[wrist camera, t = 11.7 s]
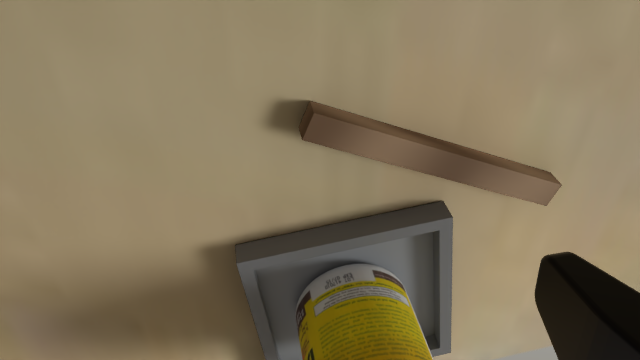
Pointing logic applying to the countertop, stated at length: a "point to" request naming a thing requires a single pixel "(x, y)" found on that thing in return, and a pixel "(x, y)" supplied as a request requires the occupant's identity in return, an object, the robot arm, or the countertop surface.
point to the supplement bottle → (359, 317)
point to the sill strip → (425, 154)
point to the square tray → (345, 249)
